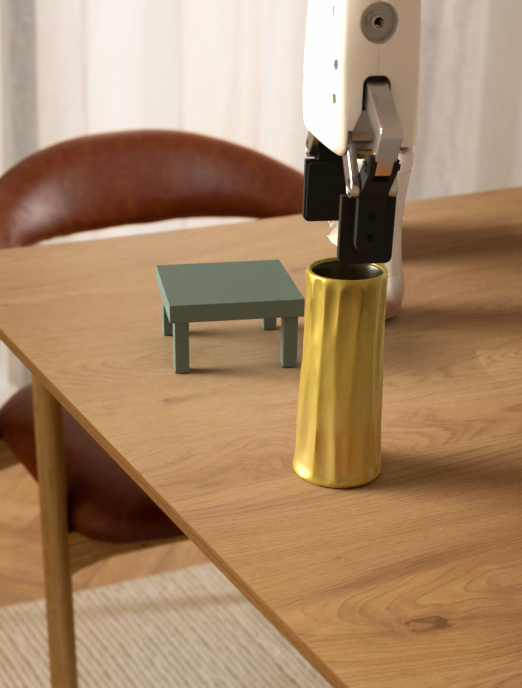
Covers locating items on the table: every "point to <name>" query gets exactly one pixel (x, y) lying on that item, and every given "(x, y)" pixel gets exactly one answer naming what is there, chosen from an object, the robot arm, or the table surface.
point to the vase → (341, 374)
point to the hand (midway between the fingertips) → (343, 239)
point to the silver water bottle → (397, 238)
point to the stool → (229, 301)
